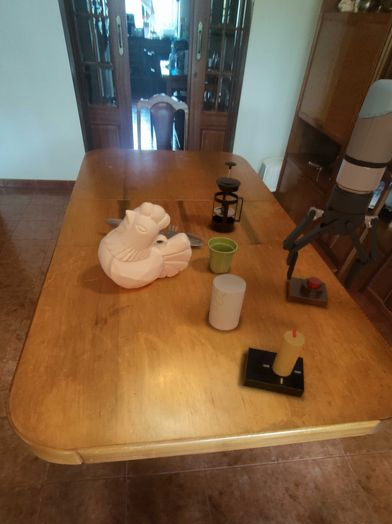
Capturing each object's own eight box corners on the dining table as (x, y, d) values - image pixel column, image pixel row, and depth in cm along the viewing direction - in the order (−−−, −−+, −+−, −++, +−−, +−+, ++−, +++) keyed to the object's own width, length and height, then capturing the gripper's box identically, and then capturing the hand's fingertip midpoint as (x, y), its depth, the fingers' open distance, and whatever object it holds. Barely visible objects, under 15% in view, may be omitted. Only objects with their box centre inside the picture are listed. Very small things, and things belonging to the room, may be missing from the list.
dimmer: (300, 364, 77) (303, 357, 75) (301, 397, 70) (304, 390, 68) (247, 354, 78) (249, 346, 76) (242, 385, 71) (245, 378, 69)
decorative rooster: (84, 275, 85) (135, 212, 69) (94, 237, 93) (141, 173, 78) (160, 314, 99) (216, 269, 83) (162, 277, 107) (213, 231, 92)
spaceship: (109, 208, 112) (102, 208, 104) (206, 230, 113) (205, 231, 106) (107, 231, 115) (100, 233, 108) (201, 252, 116) (200, 255, 109)
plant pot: (237, 266, 106) (242, 242, 100) (227, 280, 100) (231, 255, 93) (211, 258, 108) (214, 234, 102) (200, 271, 102) (202, 246, 96)
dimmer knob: (291, 378, 70) (306, 346, 63) (271, 374, 71) (284, 341, 63) (291, 363, 73) (305, 331, 66) (272, 360, 74) (284, 327, 66)
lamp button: (318, 283, 96) (320, 278, 94) (319, 289, 93) (321, 284, 92) (306, 281, 96) (308, 276, 95) (307, 287, 93) (309, 282, 92)
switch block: (322, 288, 100) (327, 277, 97) (325, 307, 93) (330, 296, 90) (288, 282, 101) (291, 271, 98) (288, 301, 94) (291, 290, 91)
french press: (209, 232, 121) (215, 165, 105) (208, 221, 128) (214, 157, 111) (239, 234, 122) (251, 168, 105) (237, 223, 128) (247, 159, 112)
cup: (207, 310, 89) (211, 273, 80) (235, 310, 90) (243, 274, 81) (210, 330, 83) (215, 293, 74) (240, 330, 84) (249, 293, 75)
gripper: (417, 188, 62) (367, 280, 77) (288, 172, 64) (265, 265, 79) (429, 203, 57) (374, 298, 72) (289, 185, 58) (264, 281, 74)
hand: (317, 281), depth 75 cm, fingers open, 13 cm apart
